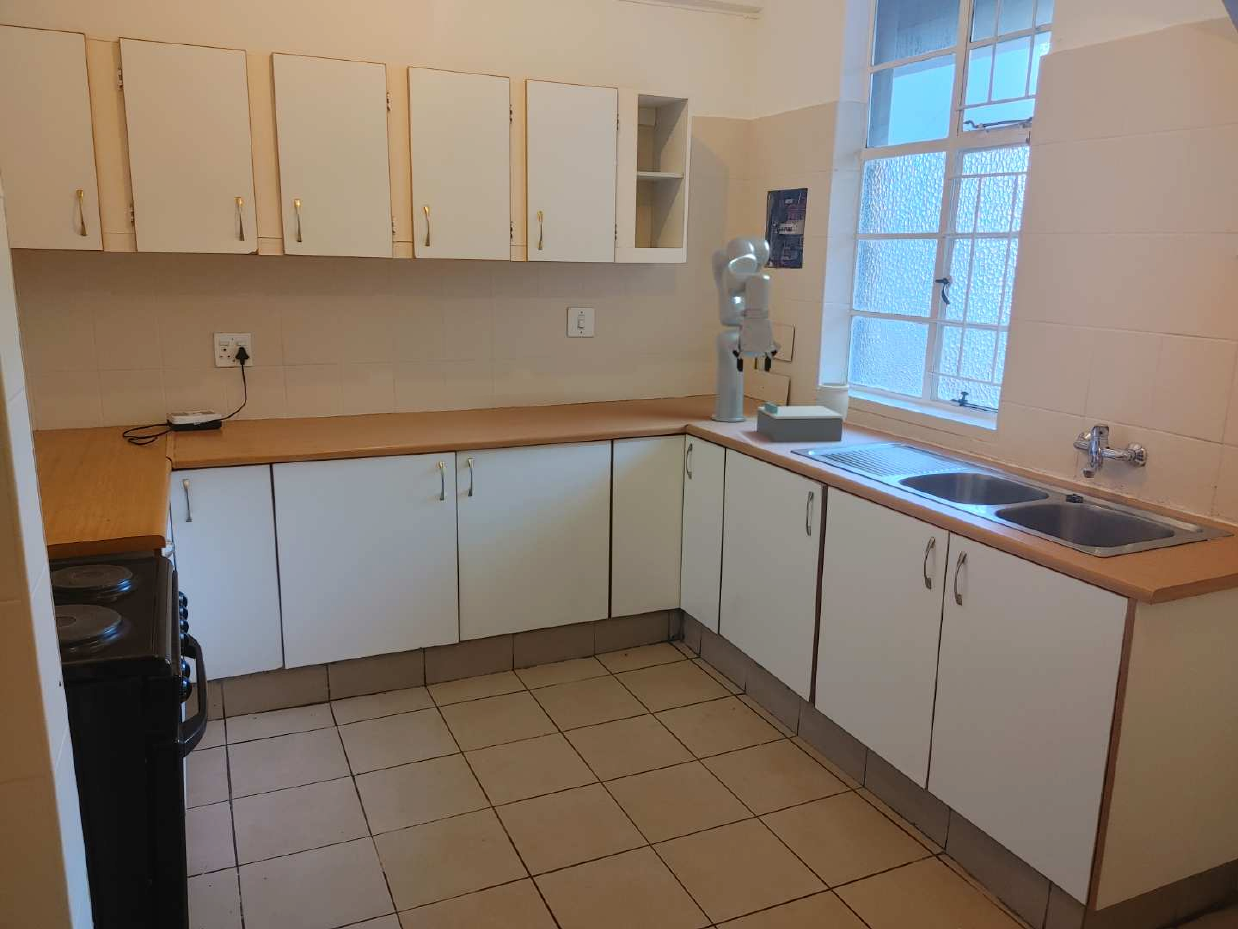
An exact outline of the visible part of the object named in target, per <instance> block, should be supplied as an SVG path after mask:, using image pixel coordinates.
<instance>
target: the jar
mask: <svg viewBox="0 0 1238 929" xmlns="http://www.w3.org/2000/svg"><path fill="white" fill-rule="evenodd" d="M818 388H819V391H818V394H817V405H816V406H823V407H825V408H827V409H830V410H832V411H834V412H836V413H838V414H841V415H843V418H842V419H843V423H844V422H845V420H846V417H847V413H848V409H849V404H850V403H849V402H850V400H849V397H850V396H849V389H850V385H849V384H846V383H840V382H822V383H821V382H820V383H819V384H818ZM843 427H844V425H843V424H842V428H843Z"/></svg>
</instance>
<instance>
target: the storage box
mask: <svg viewBox="0 0 1238 929" xmlns="http://www.w3.org/2000/svg"><path fill="white" fill-rule="evenodd" d="M756 417H757V418H756V419H757V420H756V432H757V433H759V434H761V436H764V437H765V438H766V439H768V440H770V441H771V442H773V443H813V442H815V443H816V442H842V436H843V427H842V425H843V423H844V422H843V419H842V418H818V419H774V418H773V417H771V416H769V415H767V414H765V413H764V412H762V411H760V410H758V409H757V416H756Z"/></svg>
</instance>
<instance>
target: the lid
mask: <svg viewBox="0 0 1238 929" xmlns="http://www.w3.org/2000/svg"><path fill="white" fill-rule="evenodd" d="M758 410H760V411H762V412H764V413H765V414H767V415H769V416H771V417H773V418H774V419H818V418H843V415H841V414H838V413H836V412H834V411H832V410H830V409H827V408H825V407H823V406H817V405H807V406H806V405H804V406H803V405H802V406H801V405H799V406H798V405H797V406H796V405H794V406H792V405H791V406H789V405H788V406H787V405H783V406H781V405H780V406H778V405H777V404H775V403H772V402H771V401H764V406H757V411H758Z"/></svg>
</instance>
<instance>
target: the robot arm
mask: <svg viewBox="0 0 1238 929" xmlns="http://www.w3.org/2000/svg"><path fill="white" fill-rule="evenodd" d="M770 254H771V248H770V244H769V242H768V240H766V238H764V237H748V236H747V237H746V236H745V237H743V236H742V237H735V238H732V239H730V240H729V241H728V243H727V244H726V248H721V249H718V250H717V249H716V250H715V251H714V252H713V254H712V257H711V271H712V275H713V280H714V282H715V284H716V287H717V294H718V297H717V298H718V301H717V302H718V318H719V320H718V321H719V323H720V325H721V326H723V327H725V328H735V329H729V330H728V329H727V330H722V331H720V332H719V333H717V335H716V338H715V348H716V349H715V350H716V357H717V358H716V363H717V368H716V369H717V370H716V392H715V393H716V394H715V396H716V397H715V413H712V414H711V416H710V419H711V418H712V420H713V419H714V420H713V421H717V422H723V423H724V422H725V423H726V422H727V423H738V422H739V423H740V422H745V421H746V420H747V415H746V414H743V405H744V384H745V370H744V359H743V358H751V359H752V358H761V357H763V356H764V355H765V358H764V365H763V366H764V367H763V369H764V370H763V371H765V372H767V373H769V372H770V370H771V368H772V359H773V358H774V357H775V356H776V355H777V354H778V352H779V350H780V349H781V347H782V345H781V344H780V343H779V342H777V341H776V340H774V339H773V337H774V336H773V326H772V319H769V316H770V315H769V313H770V312H769V311H770V294H771V277H770V276H769V275H768V274H766V273H761V271H762V269H763V268H764V267H765V265H767V263H768V262H769V261H768V260H769V258H770ZM736 328H738V329H736Z"/></svg>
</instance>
